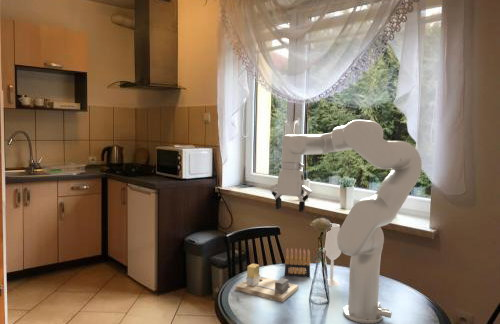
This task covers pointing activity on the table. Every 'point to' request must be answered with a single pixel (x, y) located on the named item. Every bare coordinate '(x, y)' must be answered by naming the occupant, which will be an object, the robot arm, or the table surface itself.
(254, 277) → the sliding leg
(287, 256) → the ammunition clip
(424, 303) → the table surface
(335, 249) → the champagne flute
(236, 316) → the table surface
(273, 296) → the board
